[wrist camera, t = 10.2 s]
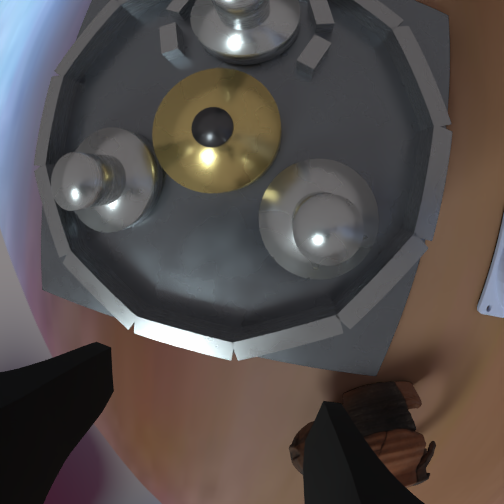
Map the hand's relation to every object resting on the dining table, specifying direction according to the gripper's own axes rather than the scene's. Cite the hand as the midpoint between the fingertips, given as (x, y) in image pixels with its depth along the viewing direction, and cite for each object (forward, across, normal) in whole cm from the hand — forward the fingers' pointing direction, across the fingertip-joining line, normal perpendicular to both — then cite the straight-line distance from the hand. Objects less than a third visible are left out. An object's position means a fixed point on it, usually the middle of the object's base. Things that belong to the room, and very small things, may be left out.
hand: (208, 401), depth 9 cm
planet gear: (+9, +3, -16) cm, 19 cm away
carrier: (+10, +3, -9) cm, 14 cm away
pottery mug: (+10, -11, +9) cm, 17 cm away
